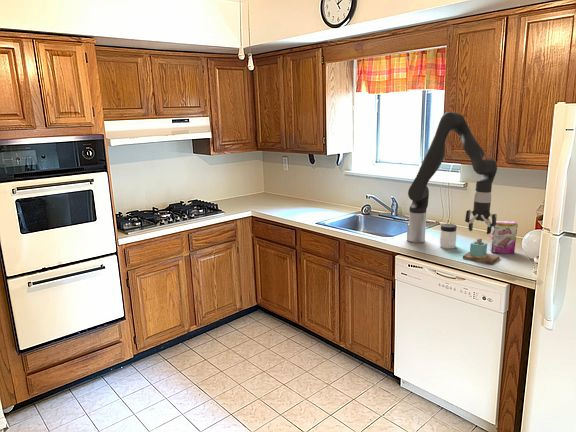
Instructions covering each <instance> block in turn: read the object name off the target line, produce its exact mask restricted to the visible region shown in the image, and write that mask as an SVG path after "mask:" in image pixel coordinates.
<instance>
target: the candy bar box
mask: <svg viewBox="0 0 576 432" xmlns="http://www.w3.org/2000/svg"><path fill="white" fill-rule="evenodd" d="M518 224H519V223H517V222H516V221H510V220H509V221H505V220H496V225H495V226H494V227H492V228H491V236H490V243H489V244H490V245H489V247H490V248H489V251H490V253H493V254H508V255H509V254H510V255H514V254H515V250H516V242H517V241H516V240H517V234H518V233H517V231H518V226H519V225H518Z"/></svg>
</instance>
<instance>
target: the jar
mask: <svg viewBox="0 0 576 432" xmlns="http://www.w3.org/2000/svg"><path fill="white" fill-rule="evenodd" d="M457 228H458V227H457V225H456V224H453V223H441V225H440V232H439V248H443V249H449V250H450V249H455V248H456V244H457V243H456V242H457Z"/></svg>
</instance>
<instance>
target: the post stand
mask: <svg viewBox="0 0 576 432" xmlns="http://www.w3.org/2000/svg"><path fill="white" fill-rule="evenodd" d="M476 241H477V243H476V244H479V245H482V242H483V239H482V238H476ZM500 258H501V257H500V255H496V254H490V253H488V252H487V253H486V255H485V256H483V257H477V256H472V255H470V251H469V252H466V253H465V254H463V255H462V259H463V260H468V261H472V262H477V263H481V264H487V265H493V264H495V263H496V262H497V261H498V260H500Z"/></svg>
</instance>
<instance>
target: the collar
mask: <svg viewBox="0 0 576 432" xmlns="http://www.w3.org/2000/svg"><path fill="white" fill-rule="evenodd" d="M476 243H477V240H474V241H472V242H471V243H470V246H469V252H470V255H472V256H477V257H483V256H485V255H486V253H487V254H488V251H487V250H488V242H483V241H482V245H479V244H476Z"/></svg>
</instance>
